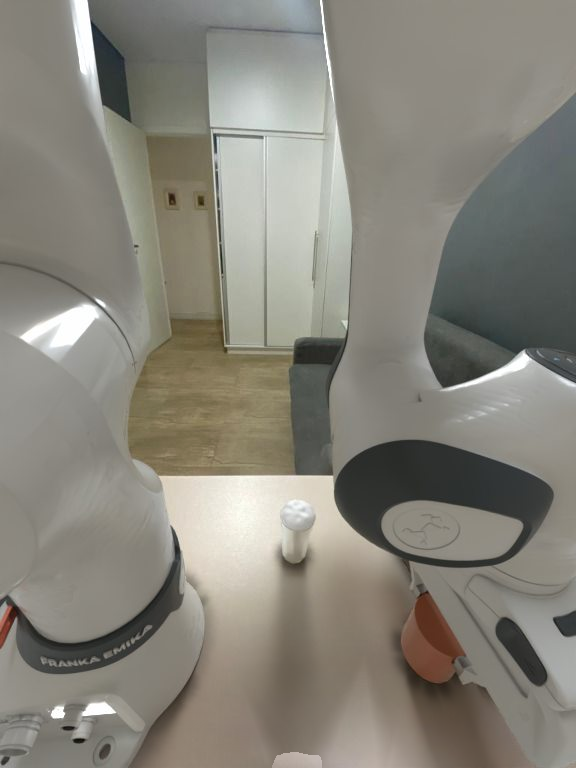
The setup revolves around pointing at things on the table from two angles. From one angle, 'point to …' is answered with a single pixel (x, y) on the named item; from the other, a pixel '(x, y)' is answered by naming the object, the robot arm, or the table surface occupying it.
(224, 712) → the table surface
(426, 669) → the orange cylinder puck
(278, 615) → the table surface
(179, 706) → the table surface
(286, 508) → the milkshake
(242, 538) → the table surface
